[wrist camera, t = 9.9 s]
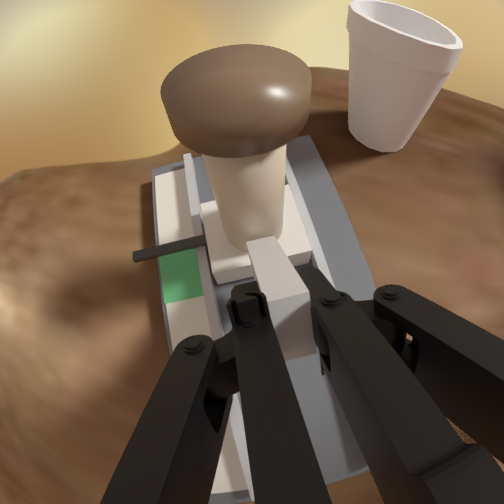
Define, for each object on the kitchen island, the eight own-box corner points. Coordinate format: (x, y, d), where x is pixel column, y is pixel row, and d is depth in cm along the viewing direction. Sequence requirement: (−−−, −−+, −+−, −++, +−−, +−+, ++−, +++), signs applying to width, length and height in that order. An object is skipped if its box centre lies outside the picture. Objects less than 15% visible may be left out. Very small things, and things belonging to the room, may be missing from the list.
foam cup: (330, 97, 29) (343, -8, 17) (407, 110, 28) (437, 16, 16) (336, 158, 25) (361, 27, 14) (427, 171, 24) (482, 63, 13)
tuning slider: (287, 199, 22) (293, 37, 10) (309, 264, 19) (348, 105, 8) (141, 234, 21) (49, 104, 10) (146, 301, 19) (18, 194, 8)
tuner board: (308, 146, 26) (310, 124, 24) (409, 445, 15) (427, 451, 13) (156, 179, 26) (147, 160, 23) (210, 498, 15) (202, 513, 12)
